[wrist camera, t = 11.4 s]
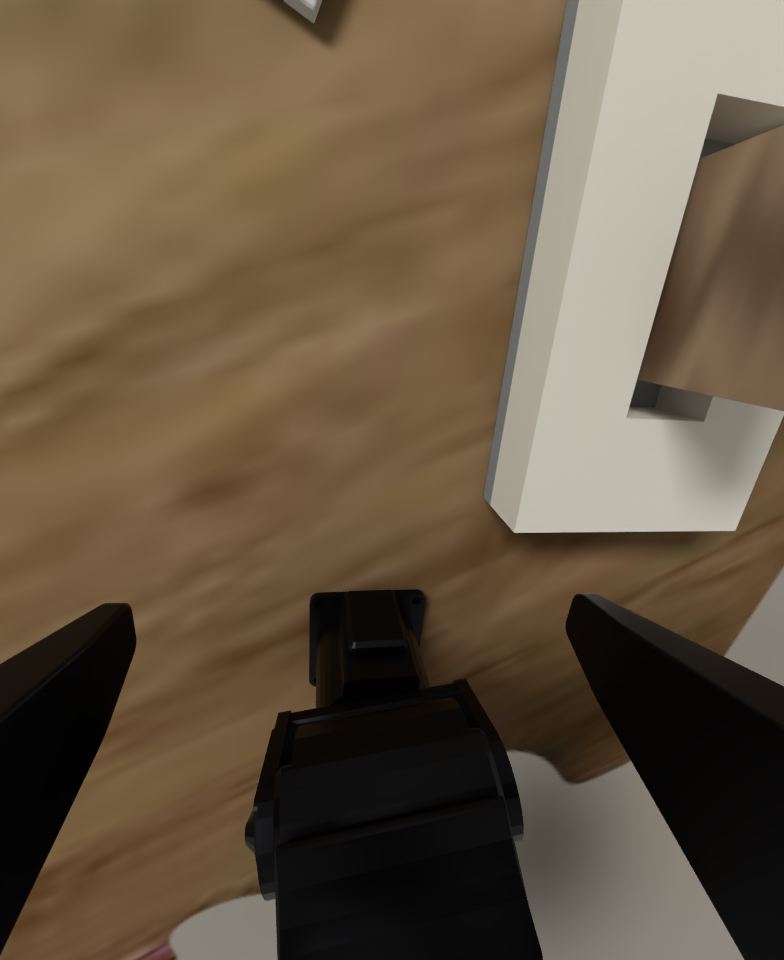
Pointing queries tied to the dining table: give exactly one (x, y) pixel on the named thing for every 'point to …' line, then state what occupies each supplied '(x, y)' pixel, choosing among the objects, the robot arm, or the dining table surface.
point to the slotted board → (628, 273)
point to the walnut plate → (727, 281)
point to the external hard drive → (306, 8)
